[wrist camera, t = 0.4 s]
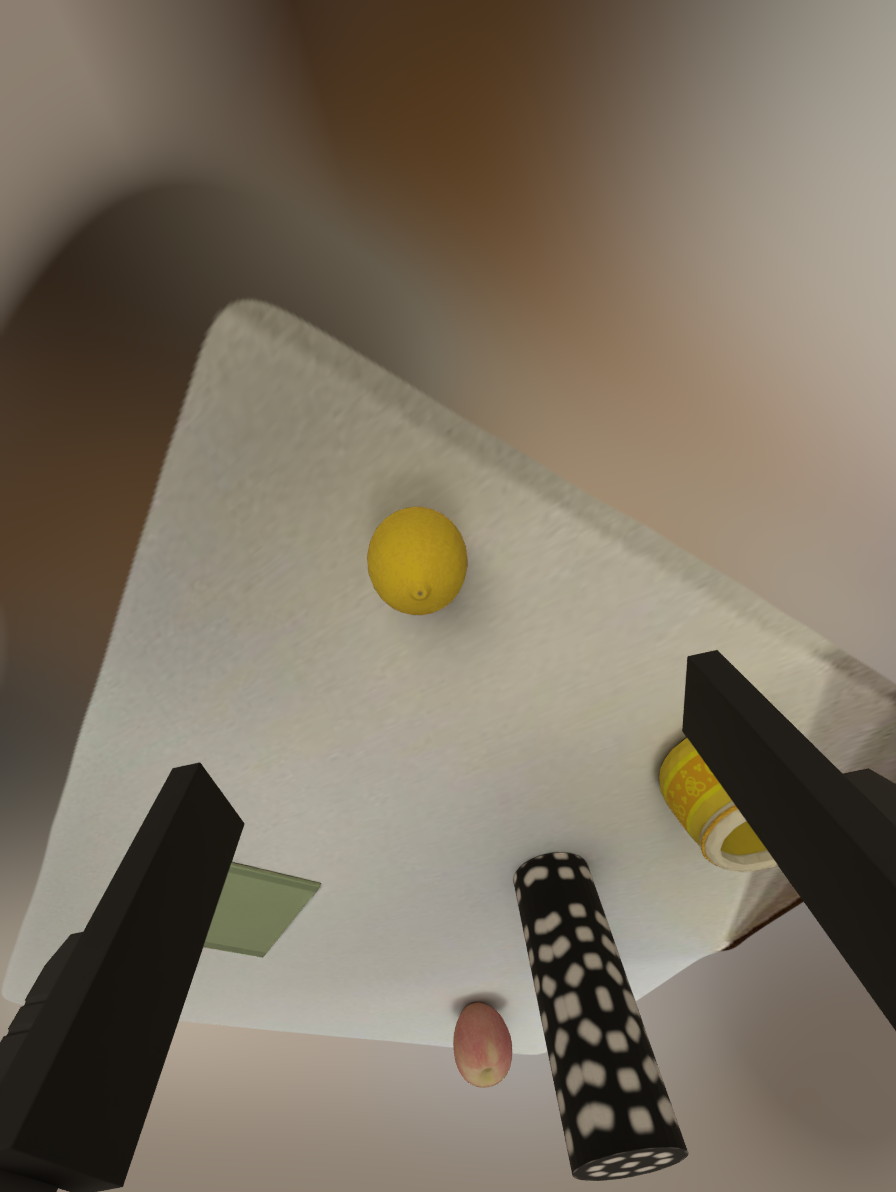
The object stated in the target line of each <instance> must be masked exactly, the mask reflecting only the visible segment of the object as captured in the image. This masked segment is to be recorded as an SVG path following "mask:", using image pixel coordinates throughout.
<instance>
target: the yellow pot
mask: <svg viewBox="0 0 896 1192" xmlns="http://www.w3.org/2000/svg"><path fill="white" fill-rule="evenodd" d="M659 782H660V788H661V793H662V795H663V797H664V799H665V801H666V803H667V805H668V806H669V808H670V809H671V810H672V812H673V813H674V815H675V816H676V817H677V819H678V820H679V822H680V823H681V824H682V826H683V827H684V828H685V829H686V831H687V832H688V833H689V835H690V836H691V837H692V838H693V839H694V840H695V842H696V843H697V844H698V845H699V846H700V847H701V850H702V854H703V856H704V857H705V858H706V859H708V861H709V862H711V863H713V864H714V865H716V866H719V867H721V868H723V869H727V870H733V871H741V872H743V871H754V870H760V869H765V868H770V867H774V866H776V865H777V863H776V862H775V860H774V859H773V858H772V856H771V855H770V853H769V852H768V851H767V849H766V848H765V846H764V845H763V844H762V842H761V841H760V839H759V838H758V837H757V835H756V834H755V832H754V831H753V830H752V828H751V827H750V825H749V824H748V823H747V821H746V820H745V818H744V817H743V816H742V814H741V813H740V811H739V810H738V808H737V807H736V806H735V804H734V803H733V801H732V800H731V799H730V797H729V796H728V794H727V793H726V792H725V790H724V789H723V787H722V786H721V785H720V783H719V782H718V780H717V779H716V778H715V776H714V775H713V773H712V772H711V771H710V769H709V768H708V766H707V765H706V764H705V762H704V761H703V759H702V758H701V756H700V755H699V754H698V752H697V751H696V749H695V748H694V747H693V745H692V744H691V742H690V741H689V740H688V738H686V739H685V740H683V741H682V742H681V743H680V744H678V745H677V746H676V747H675V748H673V749H672V750H671V752H670V753H669V754H668V756H667V757H666V758H665V760H664V762H663V764H662V766H661V768H660V774H659Z"/></svg>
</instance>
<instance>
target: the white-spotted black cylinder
mask: <svg viewBox="0 0 896 1192" xmlns="http://www.w3.org/2000/svg"><path fill="white" fill-rule="evenodd" d="M513 881H514V886H515V891H516V896H517V901H518V906H519V911H520V916H521V921H522V926H523V931H524V936H525V941H526V946H527V951H528V956H529V961H530V966H531V971H532V976H533V981H534V986H535V991H536V996H537V1001H538V1006H539V1011H540V1016H541V1021H542V1026H543V1031H544V1036H545V1041H546V1046H547V1051H548V1056H549V1061H550V1066H551V1071H552V1076H553V1081H554V1086H555V1091H556V1096H557V1100H558V1106H559V1111H560V1115H561V1121H562V1126H563V1131H564V1136H565V1141H566V1145H567V1151H568V1155H569V1160H570V1165H571V1170H572V1175H573V1177H574V1178H576V1179H579V1180H586V1181H601V1180H613V1179H621V1178H627V1177H633V1176H638V1175H643V1174H647V1173H651V1172H654V1171H657V1170H661V1169H664V1168H667V1167H670V1166H672V1165H674V1164H677V1163H679V1162H680V1161H682V1160H684V1159H685V1158H686V1157H687V1156H688V1151H687V1148H686V1145H685V1142H684V1140H683V1137H682V1134H681V1131H680V1128H679V1125H678V1122H677V1119H676V1117H675V1114H674V1111H673V1108H672V1105H671V1102H670V1099H669V1097H668V1094H667V1091H666V1088H665V1085H664V1082H663V1079H662V1076H661V1074H660V1071H659V1068H658V1065H657V1062H656V1059H655V1057H654V1054H653V1051H652V1048H651V1045H650V1042H649V1039H648V1036H647V1033H646V1031H645V1028H644V1025H643V1022H642V1019H641V1016H640V1013H639V1010H638V1008H637V1005H636V1002H635V999H634V996H633V993H632V990H631V988H630V985H629V982H628V979H627V976H626V973H625V970H624V968H623V965H622V962H621V959H620V956H619V953H618V950H617V947H616V945H615V942H614V939H613V936H612V933H611V930H610V927H609V925H608V922H607V919H606V916H605V913H604V910H603V907H602V904H601V902H600V899H599V896H598V893H597V890H596V887H595V884H594V882H593V879H592V876H591V873H590V870H589V867H588V865H587V862H586V861H585V860H584V859H582V858H581V857H579V856H577V855H574V854H569V853H551V854H546V855H542V856H539V857H536V858H534V859H531V860H530V861H528V862H526V863H525V864H523V865H522V866H521V867H520V868H519V869H518V870H517V871H516V873H515V875H514V879H513Z"/></svg>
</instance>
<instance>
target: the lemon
mask: <svg viewBox="0 0 896 1192" xmlns="http://www.w3.org/2000/svg"><path fill="white" fill-rule="evenodd" d="M367 561H368V572H369V576H370V578H371V581H372V583H373V586H374V588H375V590H376V591H377V593H378V594H379V596H380V597H381V598H382V600H383V601H385V602H386V603H387V604H388V605H389V606H391V607H392V608H394V609H396V610H398V611H400V612H402V613H407V614H411V615H425V614H430V613H433V612H436V611H438V610H440V609H443V608H444V607H445V606H447V605H448V604H449V603H451V601H452V600H453V599H454V598H455V597H456V595H457V594H458V593H459V591H460V589H461V587H462V585H463V582H464V580H465V576H466V570H467V562H468V561H467V552H466V546H465V543H464V541H463V538H462V536H461V533H460V532H459V530H458V529H457V528H456V526H455V525H454V524H453V522H452V521H450V520H449V519H448V518H447V517H445V516H444V515H443V514H441V513H439V512H437V511H434V510H432V509H429V508H424V507H409V508H405V509H402V510H399V511H396V512H395V513H393V514H391V515H390V516H388V517H387V518H385V520H384V521H383V522H382V523H381V524H380V525H379V526H378V527H377V529H376V531H375V533H374V535H373V537H372V539H371V541H370V545H369V550H368V555H367Z"/></svg>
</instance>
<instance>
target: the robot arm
mask: <svg viewBox="0 0 896 1192" xmlns="http://www.w3.org/2000/svg"><path fill="white" fill-rule="evenodd" d="M682 731H683V733H684V734H685V735H686V737H687V738H688V740H689V741H690V742H691V744H692V745H693V747H694V748H695V749H696V751H697V752H698V754H699V755H700V756H701V758H702V759H703V761H704V762H705V764H706V765H707V766H708V768H709V769H710V771H711V772H712V773H713V775H714V776H715V778H716V779H717V780H718V782H719V783H720V785H721V786H722V787H723V789H724V790H725V792H726V793H727V794H728V796H729V797H730V799H731V800H732V801H733V803H734V804H735V806H736V807H737V808H738V810H739V811H740V813H741V814H742V816H743V817H744V818H745V820H746V821H747V823H748V824H749V825H750V827H751V828H752V830H753V831H754V832H755V834H756V835H757V837H758V838H759V839H760V841H761V842H762V844H763V845H764V846H765V848H766V849H767V851H768V852H769V853H770V855H771V856H772V858H773V859H774V860H775V862H776V863H777V865H778V866H779V868H780V869H781V870H782V872H783V873H784V875H785V876H786V877H787V879H788V880H789V882H790V883H791V884H792V886H793V887H794V889H795V890H796V891H797V893H798V894H799V896H800V897H801V898H802V900H803V901H804V903H805V904H806V905H807V907H808V908H809V910H810V911H811V912H812V914H813V915H814V917H815V918H816V919H817V921H818V922H819V924H820V925H821V927H822V928H823V929H824V931H825V932H826V933H827V935H828V936H829V938H830V939H831V941H832V942H833V943H834V944H835V946H836V948H837V949H838V950H839V952H840V953H841V955H842V956H843V957H844V959H845V960H846V962H847V963H848V964H849V966H850V967H851V969H852V970H853V971H854V973H855V974H856V975H857V977H858V978H859V980H860V981H861V983H862V984H863V986H864V987H865V988H866V990H867V991H868V993H869V994H870V995H871V997H872V998H873V999H874V1001H875V1002H876V1004H877V1005H878V1007H879V1008H880V1009H881V1011H882V1012H883V1014H884V1015H885V1016H886V1018H887V1019H888V1020H889V1022H890V1023H891V1025H892V1026H893V1028H894V1029H895V1030H896V784H895V783H893V782H891V781H890V780H888V779H886V778H884V777H883V776H881V775H879V774H877V773H876V772H874V771H872V770H870V769H869V768H868V769H864V770H859V771H854V772H849V773H844V774H842V773H841V772H840V771H839V770H838V769H837V768H836V767H835V766H834V765H833V764H832V763H831V762H830V761H829V760H828V759H827V758H826V757H825V756H824V755H823V754H822V753H821V752H820V751H819V750H818V749H817V748H816V747H815V746H814V745H813V744H812V743H811V742H810V741H809V740H808V739H807V738H806V737H805V736H804V735H803V734H802V733H801V732H800V731H799V730H798V729H797V728H796V727H795V726H794V725H793V724H792V723H791V722H790V721H789V720H788V719H787V718H786V717H785V716H784V715H782V714H781V713H780V712H779V711H778V710H777V709H776V708H775V707H774V706H773V705H772V704H771V703H770V702H769V701H768V700H767V699H766V698H765V697H764V696H763V695H762V694H761V693H760V692H759V691H758V690H757V689H756V688H755V687H754V686H753V685H752V684H751V683H750V682H749V681H748V680H747V679H746V678H745V677H744V676H743V675H742V674H741V673H740V672H739V671H738V670H737V669H736V668H735V667H734V666H733V665H732V664H731V663H730V662H729V661H728V660H727V659H726V658H725V657H724V656H723V655H722V654H721V653H720V652H719V651H718V650H715V651H710V652H706V653H701V654H696V655H692V656H688V658H687V672H686V686H685V700H684V714H683V728H682ZM243 827H244V822H243V821H242V819H241V818H240V817H239V815H238V814H237V813H236V811H235V810H234V808H233V807H232V806H231V804H230V803H229V802H228V800H227V799H226V797H225V796H224V795H223V793H222V792H221V790H220V789H219V788H218V786H217V785H216V784H215V782H214V781H213V779H212V778H211V777H210V775H209V774H208V772H207V771H206V770H205V768H204V767H203V766H202V764H201V763H195V764H190V765H186V766H181V767H177V768H173V769H172V771H171V773H170V774H169V776H168V778H167V780H166V782H165V783H164V785H163V787H162V789H161V791H160V793H159V794H158V796H157V798H156V800H155V802H154V804H153V805H152V807H151V809H150V811H149V813H148V815H147V816H146V818H145V820H144V822H143V824H142V825H141V827H140V829H139V831H138V833H137V835H136V836H135V838H134V840H133V842H132V844H131V846H130V847H129V849H128V851H127V853H126V855H125V857H124V858H123V860H122V862H121V864H120V866H119V868H118V869H117V871H116V873H115V875H114V877H113V878H112V880H111V882H110V884H109V886H108V888H107V889H106V891H105V893H104V895H103V897H102V899H101V900H100V902H99V904H98V906H97V908H96V910H95V911H94V913H93V915H92V917H91V919H90V920H89V922H88V924H87V926H86V928H85V930H84V931H83V932H80V933H75V934H71V935H70V936H69V937H68V939H67V940H66V941H65V942H64V943H63V944H62V946H61V947H60V948H59V949H58V950H57V952H56V953H55V954H54V955H53V956H52V958H51V959H50V960H49V961H48V962H47V963H46V965H45V966H44V968H43V970H42V971H41V973H40V975H39V976H38V978H37V980H36V982H35V983H34V985H33V987H32V988H31V990H30V992H29V994H28V995H27V997H26V999H25V1001H26V1002H25V1005H24V1006H22V1007H21V1008H20V1009H19V1011H18V1013H17V1014H16V1016H15V1018H14V1020H13V1021H12V1023H11V1025H10V1026H9V1028H8V1029H9V1032H8V1034H7V1035H6V1036H4V1037H3V1039H2V1040H1V1042H0V1192H57V1189H58V1188H59V1189H62V1190H66V1191H69V1192H98V1191H104V1190H109V1189H114V1188H120V1187H123V1185H124V1182H125V1179H126V1176H127V1173H128V1170H129V1167H130V1164H131V1161H132V1158H133V1155H134V1152H135V1149H136V1146H137V1143H138V1140H139V1137H140V1134H141V1131H142V1128H143V1125H144V1122H145V1119H146V1116H147V1113H148V1110H149V1107H150V1104H151V1101H152V1098H153V1095H154V1092H155V1089H156V1086H157V1083H158V1080H159V1077H160V1074H161V1071H162V1068H163V1065H164V1063H165V1059H166V1057H167V1054H168V1050H169V1048H170V1045H171V1042H172V1039H173V1036H174V1033H175V1029H176V1027H177V1024H178V1021H179V1018H180V1015H181V1012H182V1009H183V1006H184V1003H185V1000H186V997H187V994H188V991H189V988H190V985H191V982H192V979H193V976H194V973H195V970H196V967H197V964H198V961H199V958H200V955H201V952H202V949H203V946H204V943H205V940H206V937H207V934H208V931H209V928H210V925H211V922H212V919H213V916H214V913H215V910H216V907H217V904H218V901H219V898H220V896H221V893H222V890H223V887H224V884H225V881H226V878H227V875H228V872H229V869H230V866H231V863H232V860H233V857H234V854H235V851H236V848H237V845H238V842H239V839H240V836H241V833H242V830H243Z"/></svg>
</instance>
